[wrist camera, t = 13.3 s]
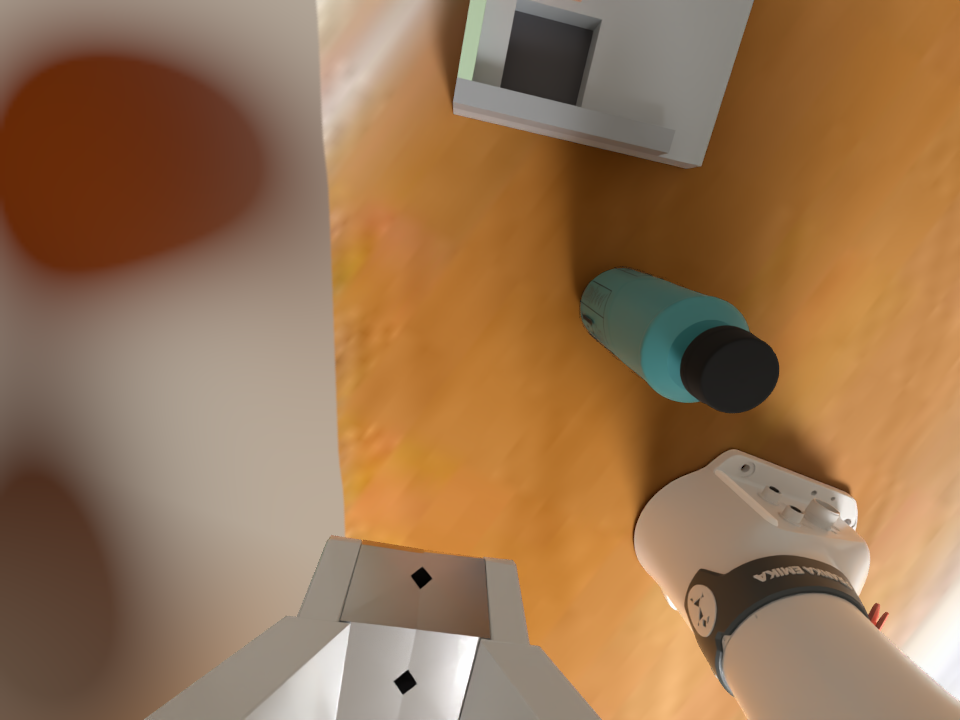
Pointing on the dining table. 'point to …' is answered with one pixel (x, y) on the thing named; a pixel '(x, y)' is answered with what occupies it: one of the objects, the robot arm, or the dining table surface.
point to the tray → (603, 71)
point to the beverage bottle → (680, 340)
